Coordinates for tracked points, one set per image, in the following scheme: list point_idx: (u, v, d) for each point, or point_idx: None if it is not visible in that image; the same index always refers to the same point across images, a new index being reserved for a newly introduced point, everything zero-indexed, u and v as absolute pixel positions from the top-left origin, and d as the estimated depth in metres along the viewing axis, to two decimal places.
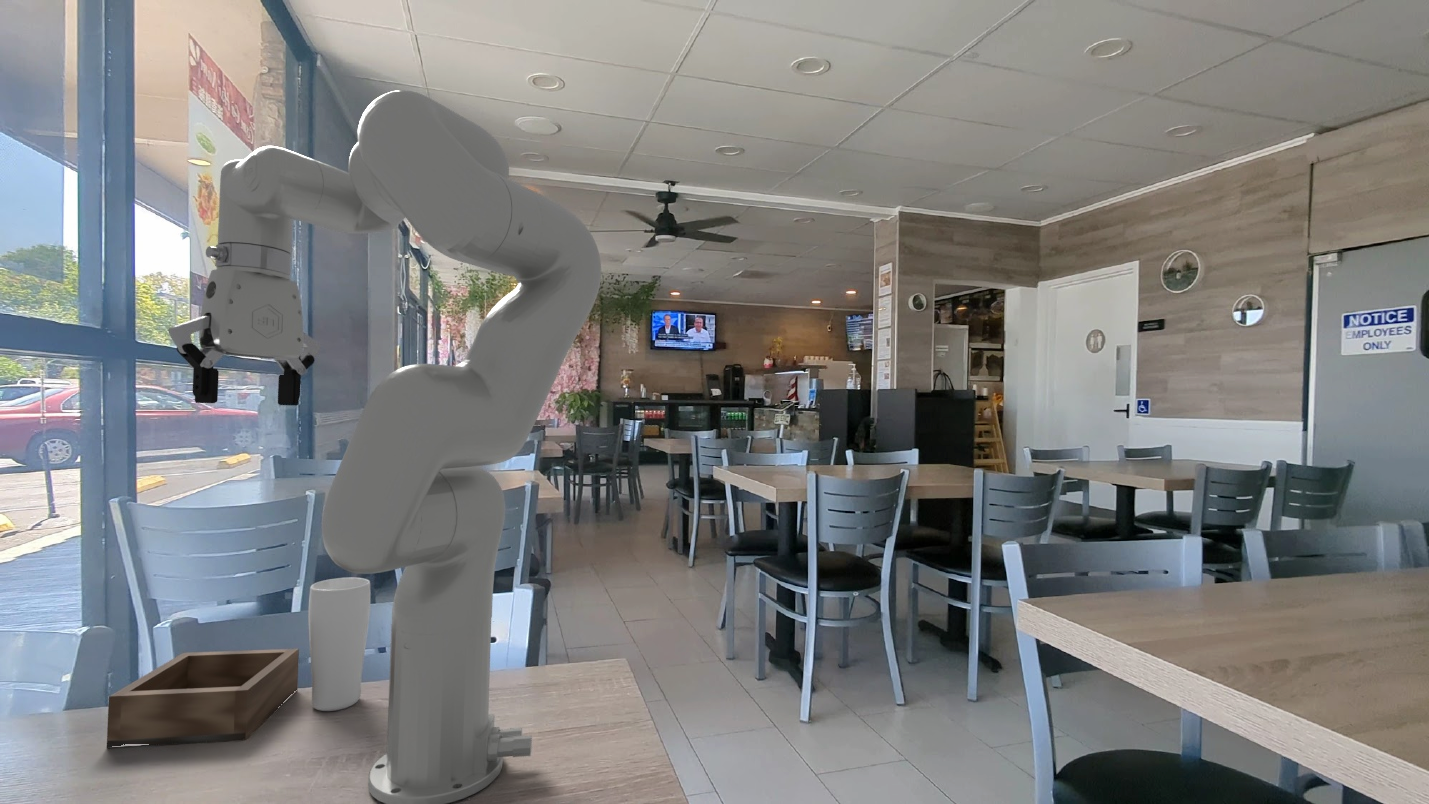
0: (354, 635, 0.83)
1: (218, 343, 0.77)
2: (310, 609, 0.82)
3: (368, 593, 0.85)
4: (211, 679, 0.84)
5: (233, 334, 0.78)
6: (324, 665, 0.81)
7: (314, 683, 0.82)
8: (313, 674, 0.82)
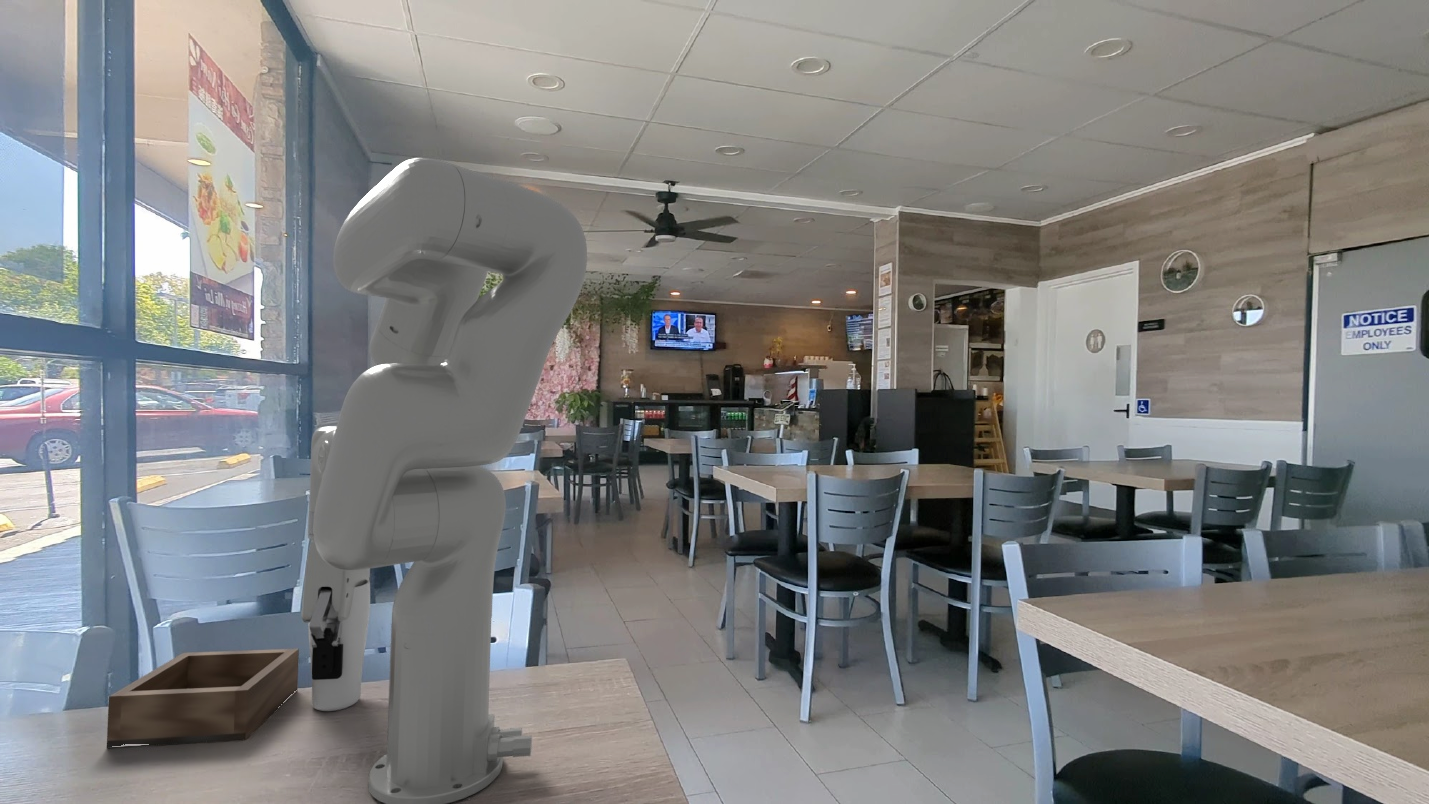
0: (354, 635, 0.82)
1: None
2: None
3: (368, 593, 0.85)
4: (211, 679, 0.84)
5: None
6: None
7: (314, 683, 0.82)
8: None
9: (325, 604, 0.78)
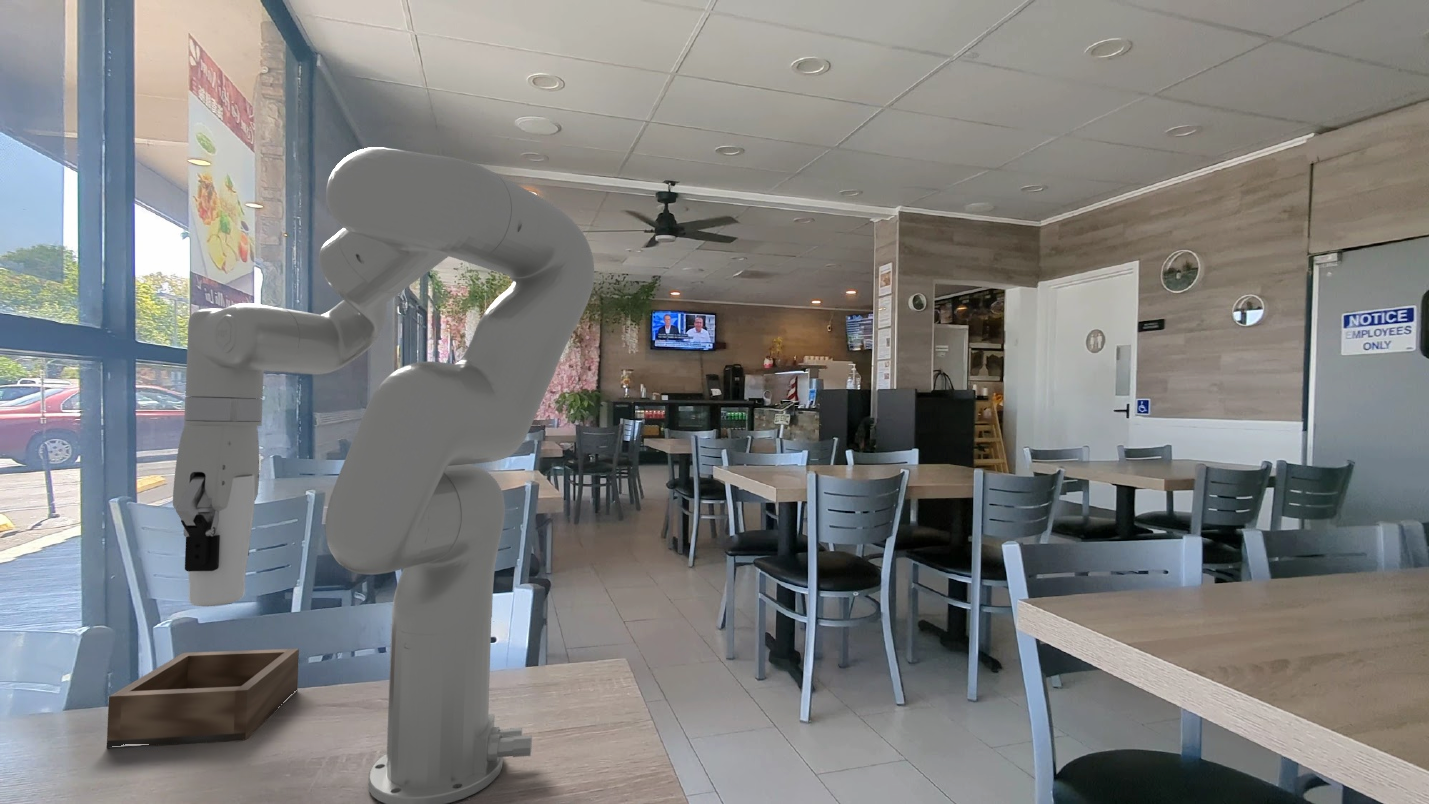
0: (233, 528, 0.78)
1: None
2: None
3: (251, 486, 0.81)
4: (211, 679, 0.84)
5: None
6: None
7: (190, 577, 0.78)
8: None
9: (196, 489, 0.74)
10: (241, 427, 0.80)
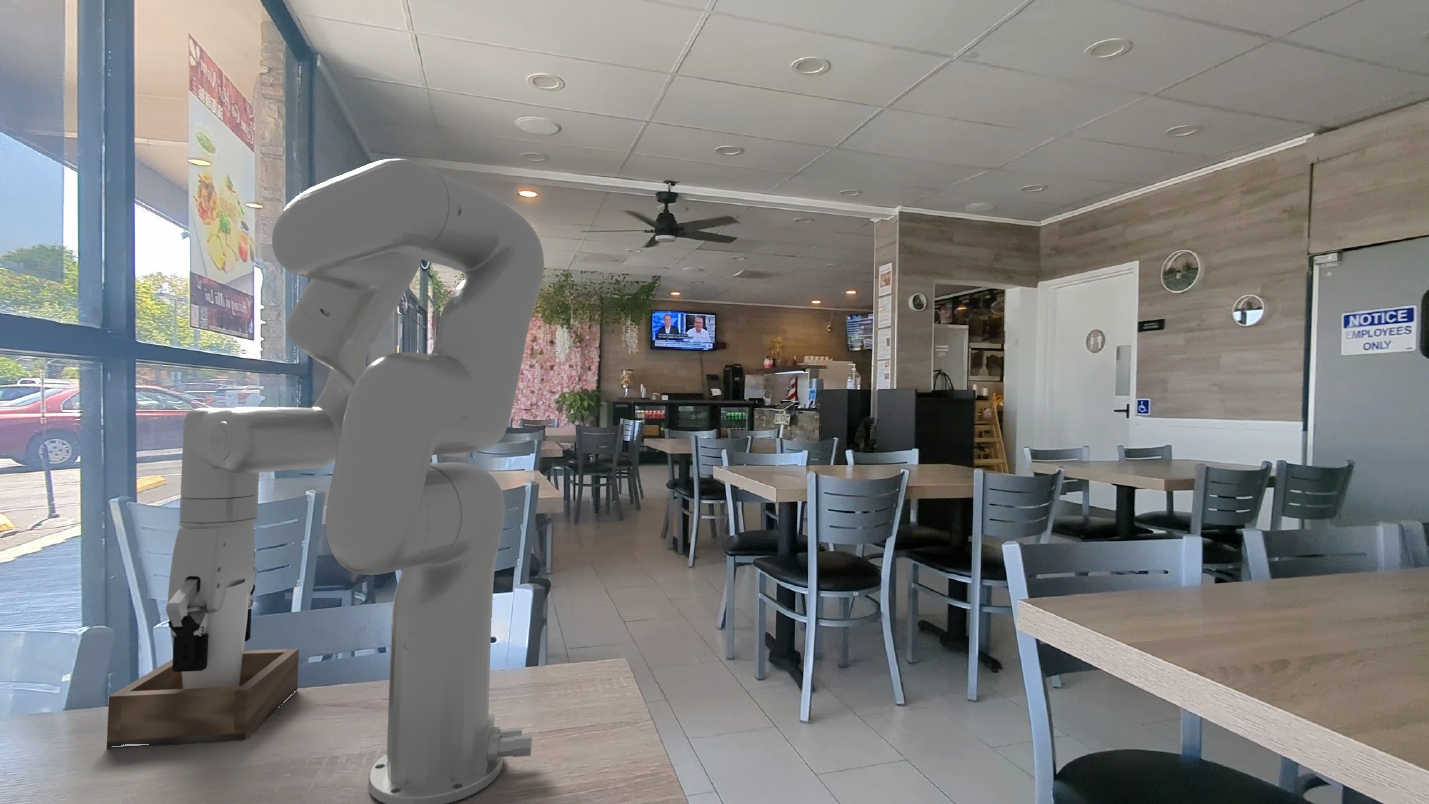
0: (226, 638, 0.78)
1: None
2: None
3: (243, 593, 0.80)
4: None
5: None
6: None
7: (183, 688, 0.77)
8: (182, 679, 0.77)
9: (189, 588, 0.74)
10: (236, 525, 0.79)
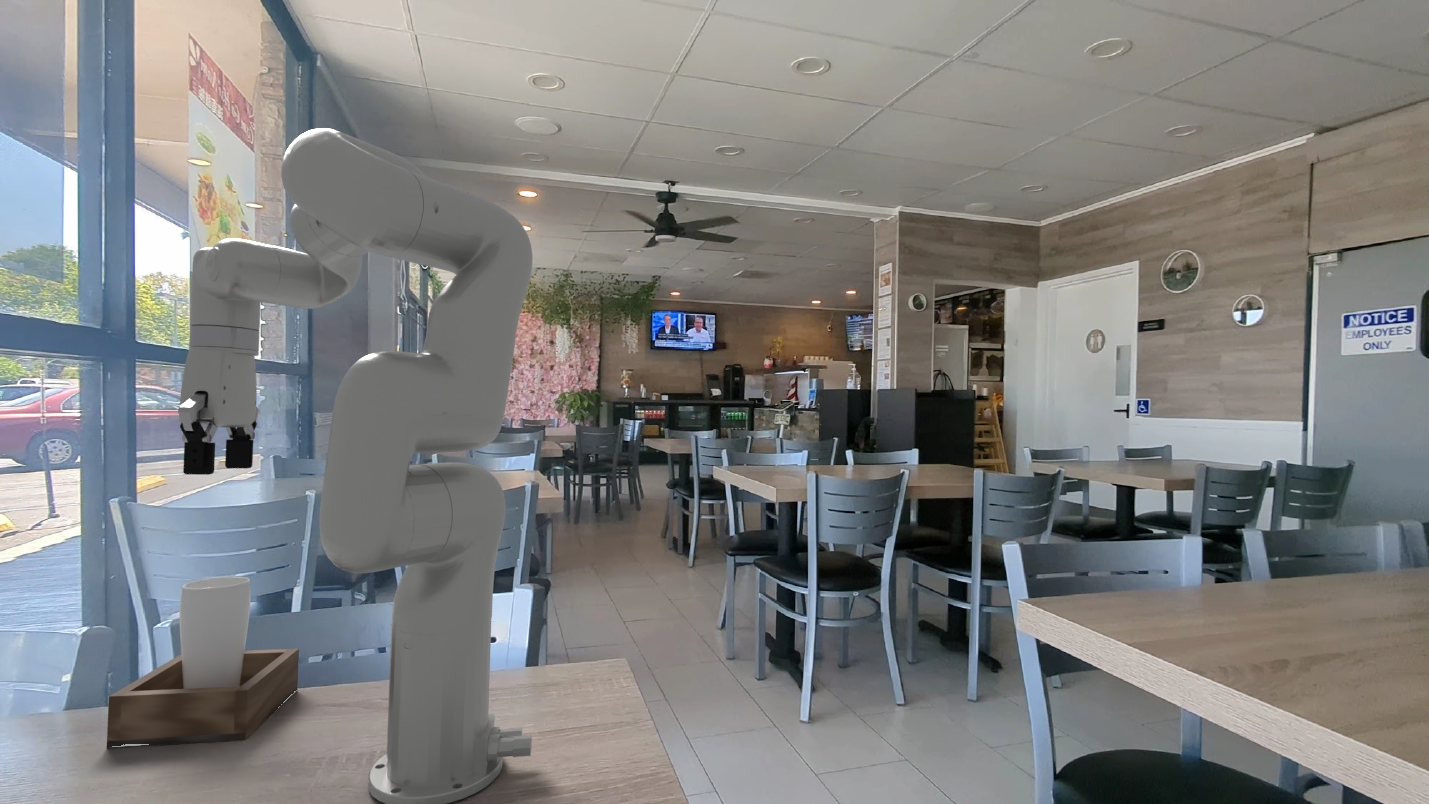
0: (227, 636, 0.78)
1: None
2: (180, 609, 0.78)
3: (246, 592, 0.80)
4: None
5: None
6: (193, 667, 0.77)
7: (184, 687, 0.77)
8: (183, 678, 0.78)
9: (198, 399, 0.83)
10: (240, 354, 0.89)
